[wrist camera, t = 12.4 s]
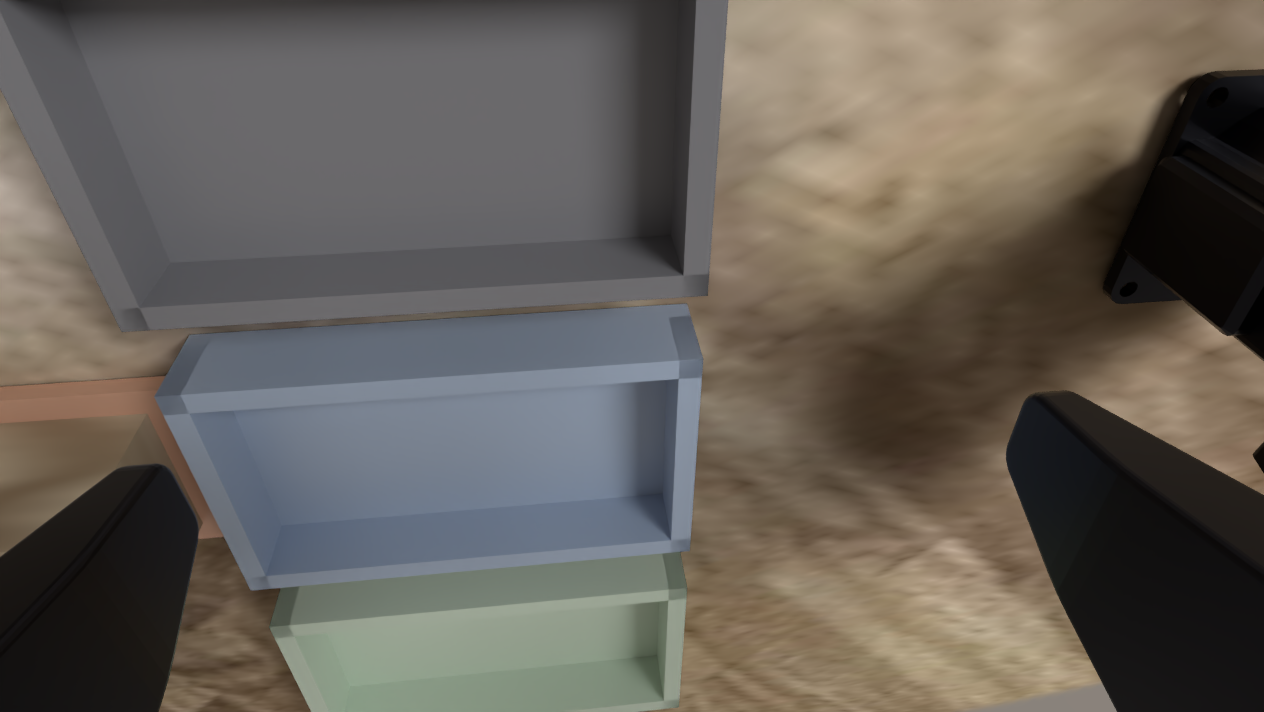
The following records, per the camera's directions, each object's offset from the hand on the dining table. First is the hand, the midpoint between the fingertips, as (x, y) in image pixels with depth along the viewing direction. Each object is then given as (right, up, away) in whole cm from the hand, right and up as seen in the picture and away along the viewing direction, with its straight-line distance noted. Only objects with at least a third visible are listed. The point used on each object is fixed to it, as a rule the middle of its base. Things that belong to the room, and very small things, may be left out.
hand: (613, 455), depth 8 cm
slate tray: (-5, -1, +15) cm, 16 cm away
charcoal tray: (-5, +7, +9) cm, 12 cm away
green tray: (-5, -8, +21) cm, 23 cm away
